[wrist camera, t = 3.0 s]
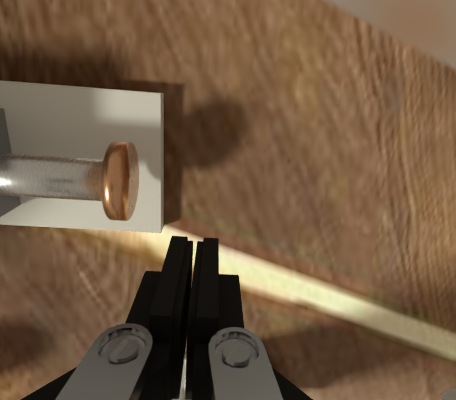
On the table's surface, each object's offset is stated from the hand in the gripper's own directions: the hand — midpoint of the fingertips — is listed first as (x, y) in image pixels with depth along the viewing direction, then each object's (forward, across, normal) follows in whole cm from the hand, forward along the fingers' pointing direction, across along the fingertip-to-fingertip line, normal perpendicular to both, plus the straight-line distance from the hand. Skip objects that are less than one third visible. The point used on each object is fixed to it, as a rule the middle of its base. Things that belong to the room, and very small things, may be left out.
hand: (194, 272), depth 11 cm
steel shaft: (+14, +13, +1) cm, 19 cm away
